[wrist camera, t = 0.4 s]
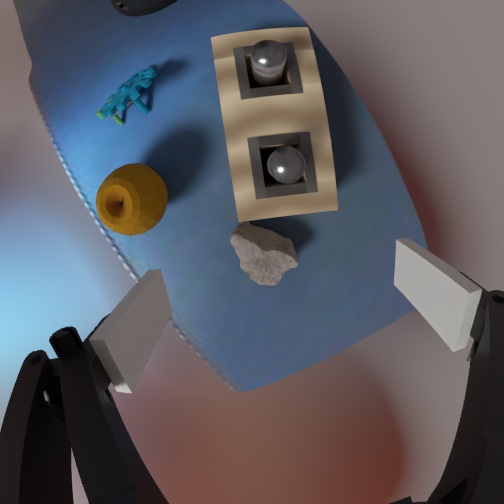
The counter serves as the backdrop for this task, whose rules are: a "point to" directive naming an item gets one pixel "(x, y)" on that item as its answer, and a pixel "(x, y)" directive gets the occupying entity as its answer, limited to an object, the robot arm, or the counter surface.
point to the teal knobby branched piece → (128, 95)
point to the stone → (263, 253)
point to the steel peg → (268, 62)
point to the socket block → (275, 125)
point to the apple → (132, 199)
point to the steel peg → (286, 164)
